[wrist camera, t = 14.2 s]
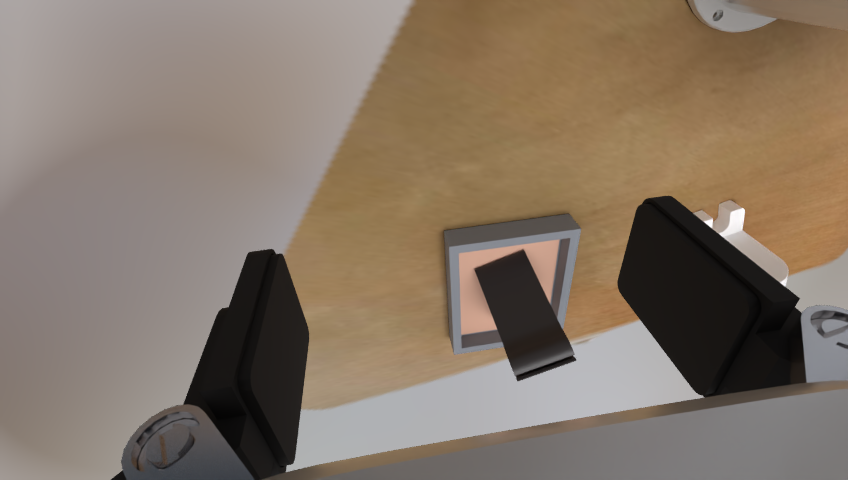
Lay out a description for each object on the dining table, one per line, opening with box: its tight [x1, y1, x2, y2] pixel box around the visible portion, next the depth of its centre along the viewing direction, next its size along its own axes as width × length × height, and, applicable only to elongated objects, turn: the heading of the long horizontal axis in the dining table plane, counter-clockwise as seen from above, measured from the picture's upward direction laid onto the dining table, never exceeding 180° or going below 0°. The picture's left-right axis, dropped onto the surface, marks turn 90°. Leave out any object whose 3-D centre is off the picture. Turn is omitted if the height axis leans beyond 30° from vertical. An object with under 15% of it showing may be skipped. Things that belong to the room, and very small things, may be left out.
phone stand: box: [475, 250, 576, 381], centre depth 45 cm, size 9×6×12 cm, turn 21°
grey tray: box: [444, 214, 581, 355], centre depth 49 cm, size 14×17×3 cm
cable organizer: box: [693, 200, 789, 286], centre depth 47 cm, size 5×10×10 cm, turn 20°
